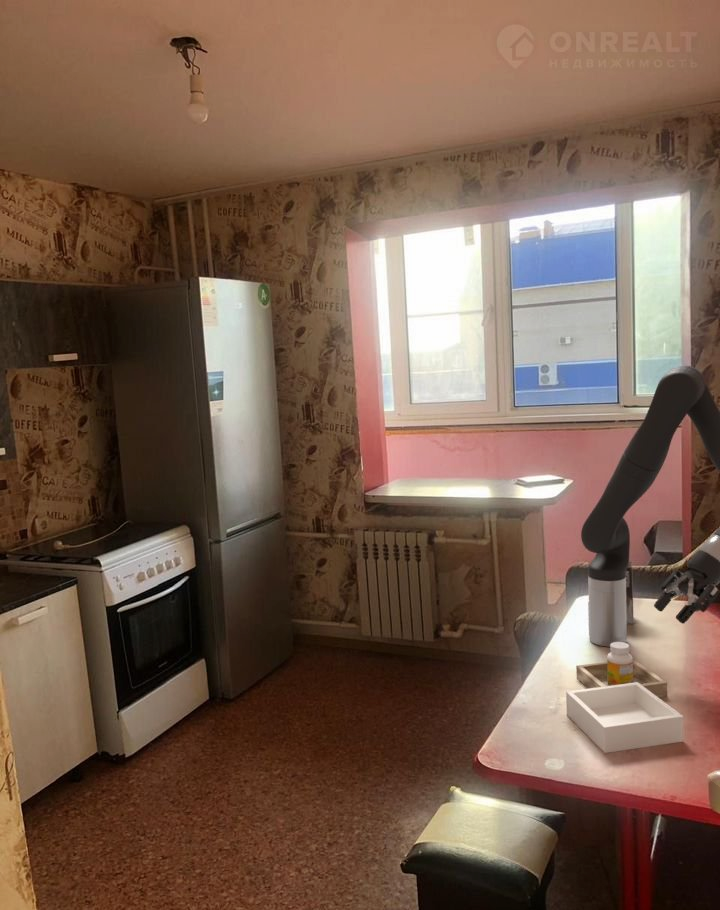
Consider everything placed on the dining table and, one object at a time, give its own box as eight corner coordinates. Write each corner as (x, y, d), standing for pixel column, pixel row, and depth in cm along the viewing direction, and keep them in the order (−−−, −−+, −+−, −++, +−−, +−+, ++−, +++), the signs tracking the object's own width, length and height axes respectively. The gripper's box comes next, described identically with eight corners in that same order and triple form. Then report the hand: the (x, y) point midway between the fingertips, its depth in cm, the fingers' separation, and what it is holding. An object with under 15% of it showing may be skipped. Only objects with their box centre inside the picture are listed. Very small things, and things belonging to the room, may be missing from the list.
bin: (566, 714, 152) (566, 691, 152) (637, 704, 155) (637, 682, 154) (604, 752, 137) (604, 727, 136) (683, 741, 139) (683, 716, 139)
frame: (576, 678, 170) (576, 665, 169) (632, 670, 172) (632, 658, 171) (606, 704, 156) (606, 690, 155) (667, 696, 158) (667, 682, 158)
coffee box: (633, 616, 208) (632, 561, 206) (633, 624, 202) (633, 567, 200) (599, 614, 211) (598, 560, 209) (598, 622, 205) (597, 566, 203)
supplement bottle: (603, 683, 166) (602, 641, 165) (626, 680, 167) (626, 639, 166) (613, 693, 161) (613, 650, 160) (637, 691, 161) (636, 648, 160)
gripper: (684, 542, 171) (639, 595, 170) (724, 556, 157) (675, 614, 156) (704, 562, 172) (660, 615, 172) (746, 578, 158) (698, 635, 158)
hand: (667, 614), depth 164 cm, fingers open, 8 cm apart
